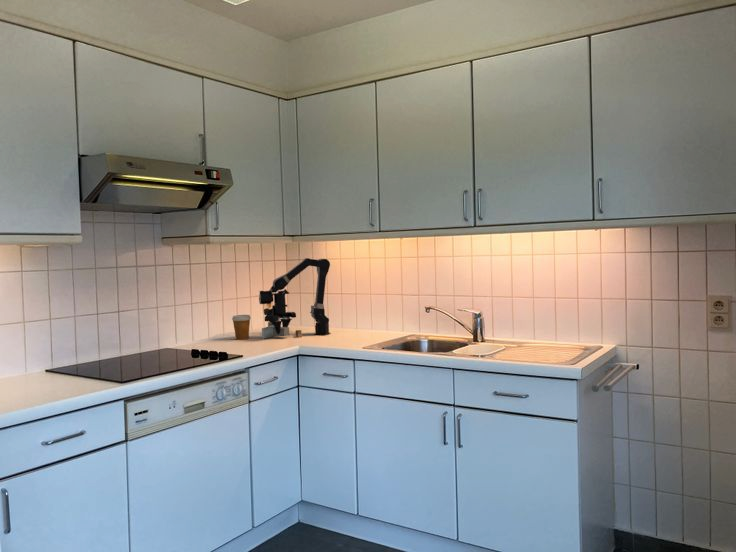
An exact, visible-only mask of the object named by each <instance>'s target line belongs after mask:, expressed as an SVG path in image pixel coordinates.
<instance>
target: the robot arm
mask: <svg viewBox="0 0 736 552" xmlns="http://www.w3.org/2000/svg"><path fill="white" fill-rule="evenodd" d="M308 267H315V268H316V272H317V273H316V274H317V281H316V290H315V299H314V300H315V301H314V305H310V311H309V313H310V316H311V317H312V319H313V320H314V321H315V325H314V329H315V330H314V333H313V334H314V336H315V335H316V336H327V335H330V334H331V332H330V324H329V322H330V318H329V317H328V316H326V312H325V306H324V305H325V304H324V299H325V291H326V290H325V289H326V280H327V276H328V273H329V270H330V267H331V262H330V261H329V259H327V258H319V259H313V258H308V257H306V258H304V259H303V260H302V261H300V262H299V263H298V264H297V265H296V266H294V267H293V268H292V269H290V270H289V271H288V272H287V273H285V274H282V275H281V276H279V277H277V278H275V279H273V280H272V286H271V287H270V289H269V290H259V294H258V302H259V305H271V304H272V303H273V305H272V308H268V307H267V308H264V309H263V315H265V316H264V322H271V323H272V324H273V325H274V327H275V330H276V332H277V334H279V333H280V328H281V327H289V325H290V322H291V321H292V320H293V319H294V318H297V313H296V312H295V311H287V307H288V304H286V295H289V294H290V292H289V291H288V290H287V289H286V287H287V286H288V285H289V283H290V282H291V281H292V280H293V279H294V278H295V277H297V275H300V274H301V273H302V272H303V271H304V270H305V269H307V268H308Z"/></svg>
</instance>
